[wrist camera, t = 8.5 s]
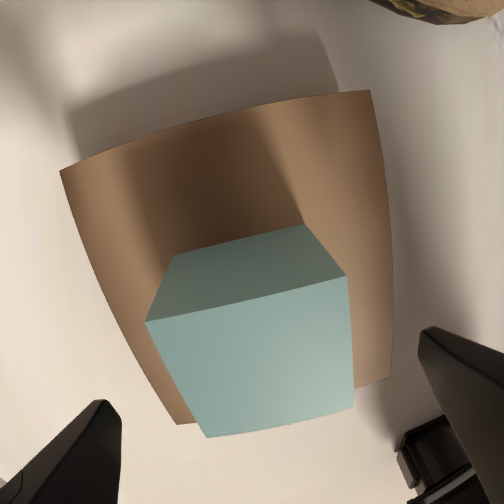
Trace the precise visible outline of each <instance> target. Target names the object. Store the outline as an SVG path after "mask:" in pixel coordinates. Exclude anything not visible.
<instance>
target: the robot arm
mask: <svg viewBox="0 0 504 504" xmlns="http://www.w3.org/2000/svg"><path fill="white" fill-rule="evenodd" d="M418 358H419V361H420V363H421V365H422V367H423V369H424V371H425V374H426V376H427V378H428V380H429V383H430V385H431V387H432V389H433V392H434V394H435V396H436V398H437V401H438V403H439V404H440V406H441V408H442V410H443V412H444V413H445V415H444V416H442V417H440V418H438V419H435V420H433V421H431V422H429V423H427V424H425V425H423V426H420V427H418V428H416V429H413V430H411V431H409V432H407V433H406V434H405V435H404V438H403V442H402V446H401V449H400V451H399V455H398V458H397V462H398V464H399V466H400V469H401V471H402V473H403V476H404V478H405V480H406V483H407V485H408V487H409V488H410V489H412V488H415V490H416V492H417V494H418V496H417V497H416V498H414V499H411V500H409V501H407V504H504V353H501V352H499V351H496V350H494V349H491V348H489V347H486V346H484V345H481V344H479V343H476V342H473V341H471V340H468V339H466V338H463V337H461V336H458V335H456V334H453V333H451V332H448V331H446V330H443V329H441V328H438V327H435V326H432V327H429V328H427V329H424V330H422V331H421V333H420V338H419V347H418ZM121 437H122V421H121V418H120V416H119V414H118V413H117V412H116V410H115V409H114V408H113V406H112V405H111V404H110V402H109V401H107V400H105V399H100V400H94V401H93V402H92V403H90V404H89V405H88V406H87V407H86V408H85V409H84V410H83V411H82V412H81V413H80V414H79V415H78V416H77V417H76V418H75V419H74V420H73V421H72V422H71V423H70V424H68V425H67V426H66V427H65V428H64V429H63V430H62V431H61V432H60V433H59V434H58V435H57V436H56V437H55V438H54V439H53V440H52V441H51V442H50V443H49V444H48V445H47V446H45V447H44V448H43V449H42V450H41V451H40V452H39V453H38V454H37V455H36V456H35V457H34V458H33V459H32V460H31V461H30V462H29V463H28V464H27V465H26V466H25V467H24V468H23V469H21V470H20V471H19V472H18V473H17V474H16V475H15V476H14V477H13V478H12V479H11V480H10V481H9V482H8V483H6V484H5V485H4V486H3V487H2V488H0V504H117V503H118V491H119V481H120V471H121Z"/></svg>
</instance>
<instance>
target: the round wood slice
mask: <svg viewBox="0 0 504 504" xmlns="http://www.w3.org/2000/svg"><path fill="white" fill-rule="evenodd" d="M369 1H371V2H374V3H376V4H378V5H380V6H382V7H384V8H387V9H389V10H391V11H393V12H395V13H397V14H399V15H401V16H405V17H409V18H413V19H417V20H421V21H425V22H428V23H432V24H435V25H449V24H466V23H469V22H472V21H475V20H478V19H481V18H485V17H488V16H492V15H494V14H495V13H497V12H498V11H500V10H502V9H503V8H504V0H369Z"/></svg>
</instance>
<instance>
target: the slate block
mask: <svg viewBox="0 0 504 504" xmlns="http://www.w3.org/2000/svg"><path fill="white" fill-rule="evenodd" d="M144 323H145V325H146V327H147V329H148V331H149V333H150V336H151V338H152V340H153V342H154V344H155V346H156V348H157V350H158V352H159V354H160V356H161V358H162V360H163V362H164V364H165V366H166V368H167V370H168V371H169V373H170V375H171V377H172V379H173V381H174V383H175V385H176V386H177V388H178V390H179V392H180V394H181V395H182V397H183V399H184V401H185V403H186V404H187V406H188V408H189V409H190V411H191V413H192V415H193V416H194V418H195V420H196V421H197V423H198V425H199V426H200V428H201V430H202V431H203V433H204V434H205V436H206V438H211V437H219V436H227V435H234V434H240V433H246V432H252V431H258V430H263V429H269V428H274V427H279V426H283V425H288V424H292V423H297V422H301V421H305V420H309V419H313V418H317V417H321V416H324V415H328V414H332V413H335V412H339V411H342V410H345V409H348V408H352V407H354V384H353V355H352V336H351V320H350V307H349V295H348V284H347V275H346V274H345V273H344V272H343V270H342V269H341V268H340V267H339V265H338V264H337V263H336V261H335V260H334V259H333V258H332V256H331V255H330V254H329V253H328V251H327V250H326V249H325V248H324V246H323V245H322V244H321V243H320V241H319V240H318V239H317V238H316V237H315V235H314V234H313V233H312V232H311V230H310V229H309V228H308V227H307V226H306V224H301V225H296V226H292V227H288V228H284V229H279V230H275V231H271V232H267V233H263V234H258V235H254V236H250V237H246V238H242V239H238V240H233V241H229V242H225V243H221V244H217V245H213V246H209V247H205V248H201V249H197V250H193V251H189V252H185V253H181V254H177V255H173V257H172V259H171V261H170V264H169V266H168V268H167V270H166V272H165V275H164V277H163V279H162V281H161V284H160V286H159V288H158V291H157V293H156V295H155V298H154V300H153V302H152V305H151V307H150V309H149V312H148V314H147V317H146V319H145V321H144Z"/></svg>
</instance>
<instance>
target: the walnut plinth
mask: <svg viewBox="0 0 504 504" xmlns="http://www.w3.org/2000/svg"><path fill="white" fill-rule="evenodd" d="M59 172H60V176H61V179H62V183H63V186H64V189H65V193H66V196H67V199H68V202H69V205H70V209H71V212H72V215H73V217H74V220H75V223H76V226H77V229H78V232H79V235H80V237H81V240H82V243H83V245H84V248H85V250H86V253H87V256H88V258H89V261H90V263H91V266H92V268H93V270H94V273H95V275H96V278H97V280H98V282H99V285H100V287H101V289H102V291H103V294H104V296H105V298H106V300H107V302H108V304H109V307H110V309H111V311H112V313H113V315H114V317H115V319H116V321H117V323H118V325H119V327H120V329H121V331H122V333H123V335H124V337H125V339H126V341H127V343H128V345H129V347H130V348H131V350H132V352H133V354H134V356H135V358H136V360H137V361H138V363H139V365H140V367H141V368H142V370H143V372H144V374H145V375H146V377H147V379H148V381H149V382H150V384H151V386H152V387H153V389H154V391H155V392H156V394H157V395H158V397H159V399H160V400H161V402H162V403H163V405H164V407H165V408H166V410H167V411H168V413H169V414H170V416H171V417H172V419H173V420H174V422H175V423H176V425H179V424H189V423H197V421H196V420H195V418H194V416H193V415H192V413H191V411H190V409H189V408H188V406H187V404H186V403H185V401H184V399H183V397H182V395H181V394H180V392H179V390H178V388H177V386H176V385H175V383H174V381H173V379H172V377H171V375H170V373H169V371H168V370H167V368H166V366H165V364H164V362H163V360H162V358H161V356H160V354H159V352H158V350H157V348H156V346H155V344H154V342H153V340H152V338H151V336H150V333H149V331H148V329H147V327H146V325H145V323H144V321H145V319H146V317H147V314H148V312H149V309H150V307H151V305H152V302H153V300H154V298H155V295H156V293H157V291H158V288H159V286H160V284H161V281H162V279H163V277H164V275H165V272H166V270H167V268H168V266H169V264H170V261H171V259H172V257H173V255H177V254H181V253H185V252H189V251H193V250H197V249H201V248H205V247H209V246H213V245H217V244H221V243H225V242H229V241H233V240H238V239H242V238H246V237H250V236H254V235H258V234H263V233H267V232H271V231H275V230H279V229H284V228H288V227H292V226H296V225H301V224H306V226H307V227H308V228H309V229H310V230H311V232H312V233H313V234H314V235H315V237H316V238H317V239H318V240H319V241H320V243H321V244H322V245H323V246H324V248H325V249H326V250H327V251H328V253H329V254H330V255H331V256H332V258H333V259H334V260H335V261H336V263H337V264H338V265H339V267H340V268H341V269H342V270H343V272H344V273H345V274H346V275H347V284H348V295H349V307H350V320H351V336H352V355H353V384H354V389H355V388H358V387H362V386H365V385H368V384H371V383H373V382H376V381H379V380H382V379H385V378H388V377H390V371H391V356H392V336H393V263H392V243H391V228H390V216H389V205H388V195H387V187H386V178H385V171H384V164H383V157H382V150H381V144H380V138H379V133H378V127H377V122H376V117H375V112H374V107H373V102H372V98H371V93H370V90H360V91H350V92H341V93H332V94H325V95H317V96H310V97H304V98H297V99H291V100H286V101H280V102H275V103H269V104H264V105H259V106H255V107H250V108H245V109H241V110H237V111H232V112H228V113H224V114H220V115H216V116H212V117H208V118H205V119H201V120H197V121H194V122H190V123H187V124H183V125H180V126H176V127H173V128H170V129H167V130H163V131H160V132H157V133H154V134H151V135H148V136H145V137H142V138H139V139H137V140H134V141H131V142H128V143H125V144H123V145H120V146H117V147H115V148H112V149H109V150H107V151H104V152H102V153H99V154H97V155H94V156H92V157H89V158H87V159H85V160H82V161H80V162H78V163H75V164H73V165H71V166H69V167H66V168H64V169H62V170H60V171H59Z"/></svg>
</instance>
